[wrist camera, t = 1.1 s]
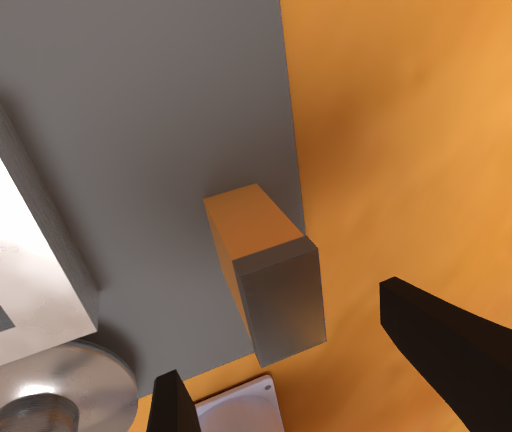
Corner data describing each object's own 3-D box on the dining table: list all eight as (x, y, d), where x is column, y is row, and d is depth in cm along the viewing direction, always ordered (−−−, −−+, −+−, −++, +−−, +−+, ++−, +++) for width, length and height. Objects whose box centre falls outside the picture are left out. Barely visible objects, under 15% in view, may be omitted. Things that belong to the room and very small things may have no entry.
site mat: (313, 323, 26) (316, 327, 26) (-46, 466, 21) (-49, 473, 21) (264, -97, 14) (268, -100, 14) (-588, 10, 9) (-616, 8, 9)
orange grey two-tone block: (270, 257, 21) (326, 341, 16) (222, 274, 21) (261, 368, 15) (257, 181, 19) (318, 248, 13) (201, 198, 18) (238, 275, 12)
